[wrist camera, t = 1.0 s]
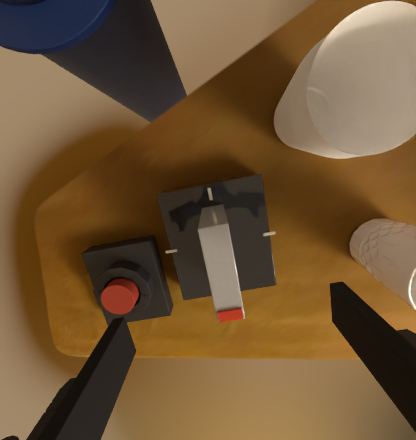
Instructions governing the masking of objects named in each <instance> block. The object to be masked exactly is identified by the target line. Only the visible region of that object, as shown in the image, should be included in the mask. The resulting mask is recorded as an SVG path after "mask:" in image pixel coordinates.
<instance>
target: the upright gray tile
mask: <svg viewBox="0 0 416 440" xmlns="http://www.w3.org/2000/svg"><path fill="white" fill-rule="evenodd" d="M198 234H199V238H200V243H201V247H202V252H203V257H204V261H205V266H206V270H207V275H208V279H209V284H210V289H211V293H212V298H213V302H214V307H215V311H216V316H217V320H218V322H225V321H231V320H237V319H244V318H245V313H244V308H243V302H242V297H241V291H240V286H239V280H238V275H237V269H236V264H235V258H234V253H233V247H232V241H231V236H230V230H229V225H228V221H227V217H226V213H225V209H224V205H223V204H221V205H216V206H211V207H206V208H202V211H201V215H200V220H199V225H198Z"/></svg>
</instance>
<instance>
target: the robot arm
mask: <svg viewBox="0 0 416 440" xmlns="http://www.w3.org/2000/svg"><path fill="white" fill-rule="evenodd" d="M43 1H45V0H0V2H2V3H6V4H11V5H20V6H24V5H32V4H37V3H40V2H43ZM330 294H331V309H332V322H333V323H334V324H335V326H336V327H337V328H338V330H339V331H340V332H341V334H342V335H343V336H344V338H345V339H346V340H347V342H348V343H349V344H350V346H351V347H352V348H353V350H354V351H355V352H356V353H357V355H358V356H359V357H360V359H361V360H362V361H363V363H364V364H365V365H366V367H367V368H368V369H369V371H370V372H371V373H372V375H373V376H374V377H375V379H376V380H377V381H378V383H379V384H380V385H381V387H382V388H383V389H384V391H385V392H386V393H387V395H388V396H389V397H390V399H391V400H392V401H393V403H394V404H395V405H396V407H397V408H398V409H399V411H400V412H401V413H402V415H403V416H404V417H405V419H406V420H407V421H408V423H409V424H410V425H411V427H412V428H413V429H414V431H415V432H416V334H415V333H413V332H411V331H410V330H408V329H404V330H398V331H396V330H395V329H394V328H393V327H391V326H390V325H389V324H388V323H387V322H386V321H385V320H384V319H383V318H382V317H381V316H379V315H378V314H377V313H376V312H375V311H374V310H373V309H372V308H371V307H370V306H369V305H368V304H366V303H365V302H364V301H363V300H362V299H361V298H360V297H359V296H358V295H357V294H356V293H354V292H353V291H352V290H351V289H350V288H349V287H348V286H347V285H346V284H345V283H344V282H337V283H331V284H330ZM135 353H136V349H135V346H134V343H133V340H132V337H131V334H130V331H129V328H128V325H127V322H126V319H125V317H121V318H114V319H113V320H112V322H111V323H110V325H109V326H108V328H107V330H106V331H105V333H104V334H103V336H102V338H101V339H100V341H99V342H98V344H97V346H96V347H95V349H94V350H93V352H92V353H91V355H90V357H89V358H88V360H87V361H86V363H85V365H84V366H83V368H82V369H81V371H80V373H79V374H78V376H77V377H76V378H72V379H70V380H69V381H68V382H67V383H66V384H65V385H64V386H63V387H62V388H61V389H60V390H59V392H58V393H57V394H56V396H55V398H54V399H53V400H52V403H50V405H49V407H48V408H47V410H46V412H45V413H44V414H43V415H42V417H41V418H40V420H39V421H38V423H37V424H36V426H35V427H34V429H33V430H32V432H31V433H30V435H29V436H28V438H27V439H26V440H101V437H102V435H103V432H104V430H105V427H106V425H107V422H108V420H109V417H110V415H111V412H112V410H113V408H114V405H115V403H116V400H117V397H118V395H119V392H120V390H121V387H122V385H123V382H124V380H125V377H126V375H127V373H128V370H129V367H130V365H131V363H132V360H133V358H134V355H135ZM2 440H19V438H18V437H16V436H9V437H6V438H4V439H2Z"/></svg>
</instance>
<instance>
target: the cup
mask: <svg viewBox="0 0 416 440" xmlns="http://www.w3.org/2000/svg"><path fill="white" fill-rule="evenodd" d="M274 128H275V131H276V134H277V136H278V137H279V139H280V140H281V141H282V142H283V143H284V144H286V145H287V146H289V147H292V148H295V149H299V150H302V151H306V152H309V153H313V154H317V155H320V156H324V157H328V158H336V159H346V158H353V157H359V156H368V155H375V154H380V153H384V152H387V151H390V150H392V149H394V148H396V147H398V146H400V145H402V144H403V143H405V142H406V141H408V140H409V139H410V138H412V137H413V136H414V135H415V134H416V6H414V5H412V4H409V3H406V2H400V1H383V2H378V3H374V4H371V5H368V6H365V7H363V8H361V9H359V10H357V11H355V12H353V13H352V14H350V15H349V16H347V17H346V18H345V19H344V20H342V21H341V22H340V23H339V24H338V25H337V26H336V27H335V28H334V29H333V30H332V31H331V32H330V33H328V34H327V35H326V36H325V37H324V38H323V39H322V40H320V41H319V42H318V43H317V44H316V45H315V46H314V47H313V48H312V49H311V50H310V51H309V52H308V53H307V55H306V56H305V57H304V59H303V60H302V62H301V63H300V65H299V66H298V68H297V70H296V72H295V74H294V75H293V77H292V79H291V81H290V83H289V85H288V87H287V88H286V90H285V92H284V94H283V96H282V98H281V100H280V101H279V103H278V105H277V108H276V110H275V114H274Z"/></svg>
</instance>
